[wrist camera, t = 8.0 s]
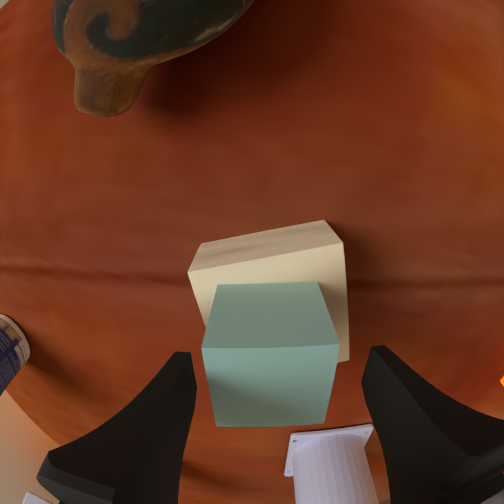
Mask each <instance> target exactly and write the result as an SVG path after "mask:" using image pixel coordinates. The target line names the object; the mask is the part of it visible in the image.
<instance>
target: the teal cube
mask: <svg viewBox="0 0 504 504" xmlns="http://www.w3.org/2000/svg"><path fill="white" fill-rule="evenodd" d="M339 348H340V342H339V339H338V336H337V333H336V331H335V328H334V325H333V322H332V320H331V317H330V314H329V312H328V309H327V306H326V304H325V301H324V298H323V296H322V293H321V290H320V288H319V285H318V283H317V282H297V283H263V284H217V288H216V292H215V296H214V300H213V304H212V308H211V312H210V315H209V319H208V323H207V327H206V331H205V335H204V340H203V344H202V354H203V360H204V366H205V371H206V376H207V382H208V387H209V392H210V397H211V402H212V407H213V412H214V417H215V421H216V426H221V427H276V426H295V425H309V424H320V423H324V421H325V417H326V413H327V408H328V404H329V399H330V395H331V390H332V385H333V380H334V375H335V370H336V365H337V360H338V354H339Z"/></svg>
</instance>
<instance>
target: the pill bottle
mask: <svg viewBox="0 0 504 504" xmlns="http://www.w3.org/2000/svg"><path fill="white" fill-rule="evenodd" d="M29 357H30V348H29V344H28V341H27V339H26V337H25V335H24V334H23V332H22V331H21V329H20V328H19V327H18V326H17V325H16V324H15V323H14V322H13V321H12V320H11V319H10V318H8V317H7V316H5V315H2V314H0V396H1V394H2V393H3V391H4V390H5V389H6V388H7V386H8V385H9V384H10V382H11V381H12V380H13V378H14V377H15V376H16V374H17V373H18V372H19V370H20V369H21V368H22V367H23V365H24V364H25V363H26V361H27V360H28V359H29Z"/></svg>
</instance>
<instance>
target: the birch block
mask: <svg viewBox="0 0 504 504" xmlns="http://www.w3.org/2000/svg"><path fill="white" fill-rule="evenodd" d="M188 275H189V278H190V281H191V285H192V288H193V291H194V294H195V297H196V300H197V303H198V306H199V309H200V312H201V315H202V317H203V320H204V323H205V326H206V327H207V323H208V319H209V315H210V312H211V308H212V304H213V300H214V296H215V292H216V288H217V284H263V283H297V282H317V283H318V285H319V288H320V290H321V293H322V296H323V298H324V301H325V304H326V306H327V309H328V312H329V314H330V317H331V320H332V322H333V325H334V328H335V331H336V333H337V336H338V339H339V342H340V348H339V354H338V360H337V363H339V362H343V361H347V360H349V323H348V302H347V285H346V271H345V259H344V248H343V242H342V241H341V240H340V238H339V237H338V236H337V235H336V233H335V232H334V231H333V230H332V229H331V227H330V226H329V225H328V224H327V223H326V221H325V220H321V221H316V222H310V223H305V224H299V225H294V226H289V227H284V228H278V229H273V230H268V231H263V232H258V233H252V234H247V235H242V236H237V237H232V238H227V239H222V240H217V241H212V242H207V243H202V244H201V245H200V247H199V249H198V251H197V253H196V255H195V257H194V259H193V262H192V264H191V266H190V268H189V270H188Z"/></svg>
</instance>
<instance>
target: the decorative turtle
mask: <svg viewBox="0 0 504 504" xmlns="http://www.w3.org/2000/svg"><path fill="white" fill-rule="evenodd" d="M254 1H255V0H53V4H52V9H51V28H52V32H53V36H54V39H55V42H56V44H57V47H58V49H59V50H60V52H61V53H62V54H63V55H64V56H65V57H66V58H67V59H68V60H70V61H71V63H72V64H73V66H74V68H75V91H74V102H75V105H76V108H77V109H78V110H79V111H81V112H83V113H87V114H91V115H95V116H104V117H109V116H115V115H120V114H122V113H124V112H126V111H127V110H128V109H129V108H130V107H131V106H132V104H133V103H134V101H135V99H136V97H137V96H138V94H139V92H140V89H141V87H142V85H143V83H144V81H145V79H146V77H147V75H148V73H149V71H150V70H151V68H152V67H153V65H156V64H159V63H162V62H166V61H168V60H171V59H174V58H177V57H180V56H182V55H185V54H187V53H190V52H192V51H194V50H196V49H198V48H199V47H201V46H203V45H205V44H207V43H208V42H210V41H212V40H213V39H216V38H217V37H219V36H220V35H221V34H222V33H223V32H225V31H227V30H228V29H229V28H230V27H231V26H232V25H233V24H234V23H235V22H236V21H237V20H238V19H239V18H240V17H241V16H242V15H243V14H244V13H245V12H246V11H247V10H248V9H249V7H250V6H251V5H252V4H253V2H254Z"/></svg>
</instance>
